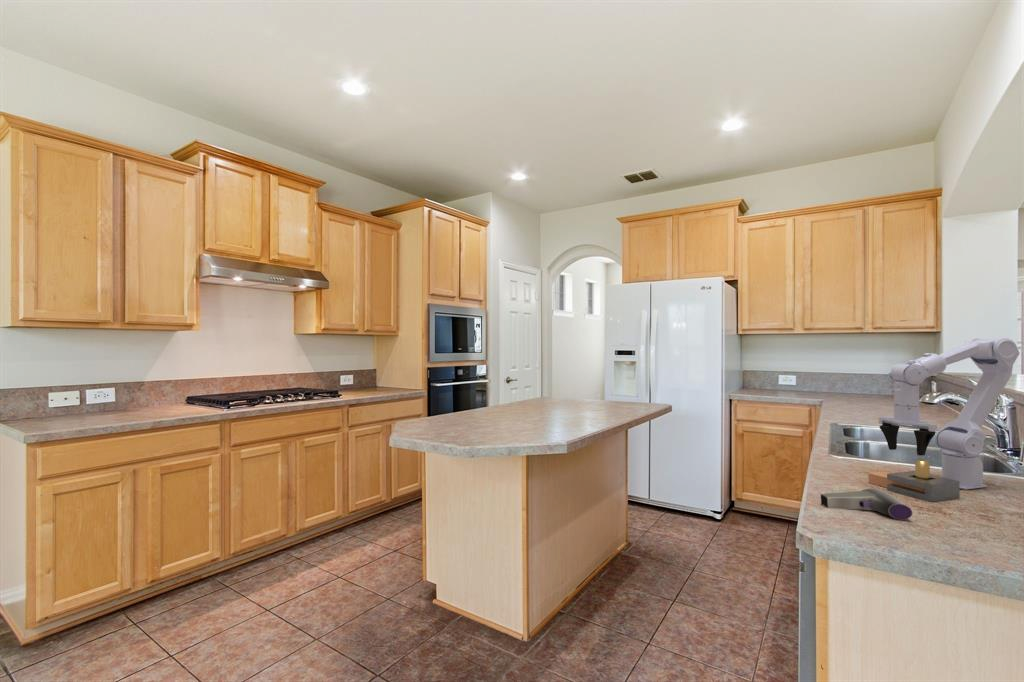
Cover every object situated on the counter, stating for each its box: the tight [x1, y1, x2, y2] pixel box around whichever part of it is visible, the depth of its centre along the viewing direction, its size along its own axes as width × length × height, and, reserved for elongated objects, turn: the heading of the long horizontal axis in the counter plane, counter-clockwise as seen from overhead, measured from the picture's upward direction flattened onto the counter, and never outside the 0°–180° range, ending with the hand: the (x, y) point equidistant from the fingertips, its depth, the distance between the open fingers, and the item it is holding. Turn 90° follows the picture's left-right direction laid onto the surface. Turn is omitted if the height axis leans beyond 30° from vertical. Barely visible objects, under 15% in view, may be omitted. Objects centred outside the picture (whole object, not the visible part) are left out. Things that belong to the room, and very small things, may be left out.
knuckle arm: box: [868, 471, 925, 492], centre depth 137 cm, size 7×16×3 cm, turn 18°
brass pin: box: [914, 459, 931, 480], centre depth 133 cm, size 3×3×9 cm
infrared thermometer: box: [820, 487, 913, 521], centre depth 119 cm, size 5×12×15 cm
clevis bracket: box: [886, 470, 961, 503], centre depth 133 cm, size 11×11×4 cm
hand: (906, 452), depth 142 cm, fingers open, 7 cm apart
